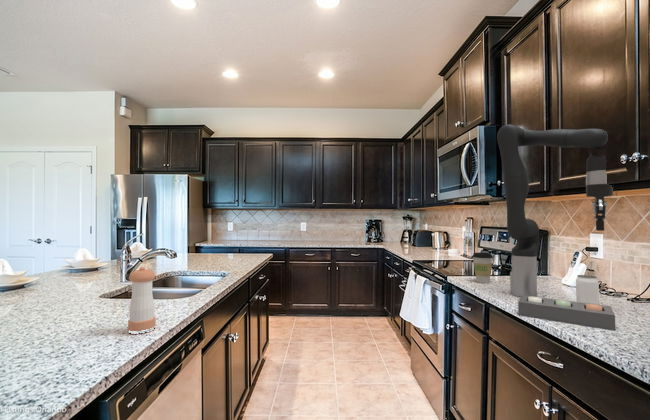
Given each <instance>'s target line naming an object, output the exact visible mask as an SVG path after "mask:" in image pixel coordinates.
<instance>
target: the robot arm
mask: <svg viewBox="0 0 650 420" xmlns="http://www.w3.org/2000/svg"><path fill="white" fill-rule="evenodd" d="M607 132H608V131H607ZM607 132H606V130H605V131H604V129H600V128H582V129H573V128H572V129H571V128H568V129H567V128H565V129H563V128H561V129H560V128H556V129H547V130H546V129H544V130H533V129H526V128H522V127H520V126H517V125H515V124H505V125H502V126H501V127H500V128H499V129H498V131H497V135H496V136H497V137H496V138H497V139H496V140H497V144H498V148H499V153H500V158H501V165H502V174H503V175H502V176H503V185H504V191H505V202H506V228H507V229H506V230H507V233H508V236H509V237H510V238H511V239H513V240H515V241H516V244H515V245H514V246H513V247H512V249H511V271H510V272H509V284H510V285H509V286H510V287H509V288H510V289H509V292H510V294H512V295H514V296H516V297H520V298H521V296H522V295H525V296H533V297H538V264H537V261H538V260H537V255H538V254H537V253H538V250H539V245H540V230H539V228H540V227H539V225H538V223H537V222H536V221H535V220H533V219H531V218H526V211H525V203H526V200H527V197H528V194H529V190H530V184H529V183H530V182H529V176H528V172H527V168H526V167H525V164H524V162H523V160H522V159H521V156H520V155H521V154H520V152H519V147H526V146H544V147H553V148H554V147H556V148H576V147H577V148H589V149H590V148H592V149H600V148H602V147H603V146H604V145H605V144H606V143H607V141H608V134H607ZM606 162H607V160H606V156H605V155H596V154H593V153H592V152H591V153H590V152H589V157H588V158H587V159H586V164H585V165H586V166H585V167H586V170H585V171H586V175H585V192H586V193H585V196H586V197H587V198H594V201H592V202H591V204H592V205H591V206H592V211H593V214H594V220H595V231H598V232H600V231H601V232H602V231H605V220H606V214H607V206H608V201H605V197H612V196H614V186H613V187H612V185H609V184H607V174H606V168H607V167H606Z"/></svg>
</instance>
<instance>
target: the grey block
mask: <svg viewBox="0 0 650 420" xmlns="http://www.w3.org/2000/svg"><path fill="white" fill-rule="evenodd" d="M599 289H600V288H599V280H598V278H597V276H593V275H587V274H577V277H576V279H575V302H581V303H589V304H597V305H600V300H599V299H600V297H599V296H600V292H599V291H600V290H599Z"/></svg>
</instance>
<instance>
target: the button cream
mask: <svg viewBox="0 0 650 420" xmlns="http://www.w3.org/2000/svg"><path fill="white" fill-rule="evenodd" d="M539 297H540V296H537V297H532V296H531V297H528V301H532V302H539V303H542V298H543V297H541V298H539Z"/></svg>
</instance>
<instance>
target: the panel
mask: <svg viewBox="0 0 650 420" xmlns="http://www.w3.org/2000/svg"><path fill="white" fill-rule="evenodd" d="M528 297H531V296H525V295H522V296H521V297H520V298H519V300H518V301H517V304H518V305H517V307H518V308H517V312H518V316H522V317H523V316H525V317H530V318H537V319H542V320H547V319H548V321H553V320H554V321H555V322H561V323H567V324H574V325H578V324H579V325H580V326H585V327H592V328H599V329H604V330H610V331H616V314H615V312H614V311H613V308H612V306H610V305H603V304H599V305H600V306H602V311H599V310H591V309H586V304H589V303H581V302H576V301H571V300H568V301H569V302H571V307H569V306H562V305H556V300H558V299H555V298H550V297H541V296H538V297H539V298H542V303H539V302H532V301H528ZM532 297H533V296H532ZM596 305H597V304H596Z"/></svg>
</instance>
